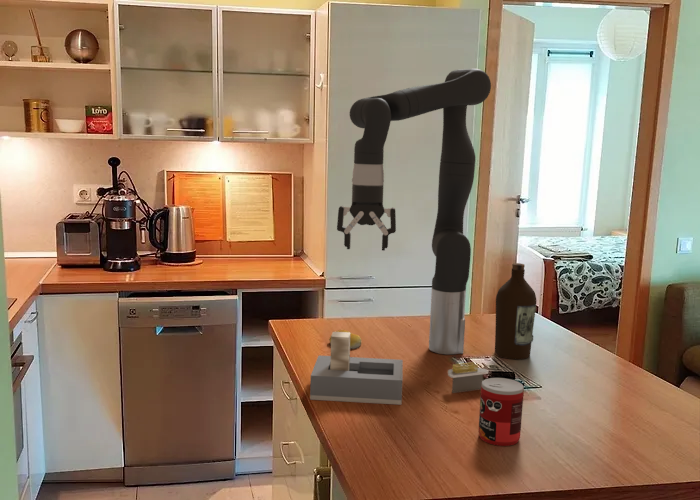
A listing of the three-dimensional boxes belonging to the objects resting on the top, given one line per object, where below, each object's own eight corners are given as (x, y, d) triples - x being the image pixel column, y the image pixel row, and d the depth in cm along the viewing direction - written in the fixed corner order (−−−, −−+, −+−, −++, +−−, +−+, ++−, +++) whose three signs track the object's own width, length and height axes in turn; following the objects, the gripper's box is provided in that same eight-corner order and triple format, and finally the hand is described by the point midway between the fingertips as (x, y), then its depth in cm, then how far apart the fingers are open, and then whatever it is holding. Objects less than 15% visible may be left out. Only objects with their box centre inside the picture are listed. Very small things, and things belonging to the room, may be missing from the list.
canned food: (473, 429, 135) (476, 377, 134) (512, 429, 136) (516, 377, 134) (484, 447, 128) (487, 391, 126) (525, 446, 129) (529, 391, 127)
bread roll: (345, 352, 183) (346, 337, 182) (324, 344, 190) (325, 330, 189) (368, 346, 188) (368, 332, 188) (347, 338, 195) (347, 325, 194)
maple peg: (353, 381, 158) (355, 331, 156) (351, 390, 152) (353, 339, 150) (327, 379, 158) (329, 330, 156) (324, 389, 152) (326, 337, 150)
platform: (418, 386, 159) (419, 360, 158) (483, 378, 166) (485, 353, 165) (444, 405, 148) (445, 377, 147) (512, 396, 155) (514, 368, 154)
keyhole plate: (401, 382, 161) (402, 359, 160) (401, 404, 147) (402, 380, 146) (318, 377, 162) (318, 355, 161) (310, 399, 149) (310, 375, 148)
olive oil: (484, 351, 186) (489, 262, 182) (511, 346, 192) (517, 259, 188) (513, 363, 177) (519, 269, 173) (540, 356, 183) (547, 266, 179)
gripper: (397, 183, 166) (395, 248, 169) (339, 181, 167) (338, 246, 170) (397, 185, 159) (394, 253, 161) (337, 183, 160) (335, 250, 162)
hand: (365, 249), depth 166 cm, fingers open, 8 cm apart
